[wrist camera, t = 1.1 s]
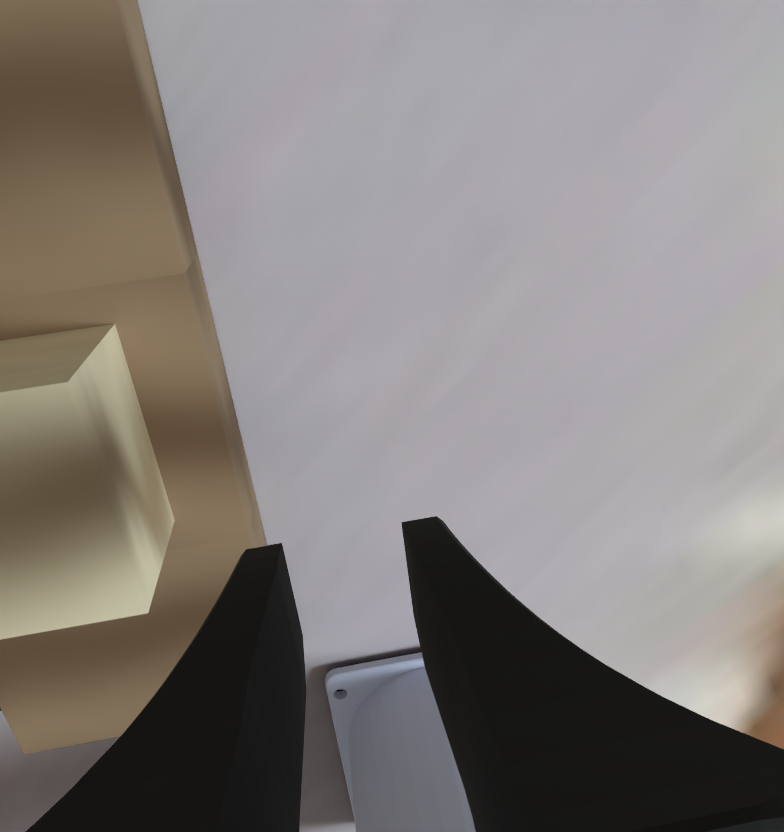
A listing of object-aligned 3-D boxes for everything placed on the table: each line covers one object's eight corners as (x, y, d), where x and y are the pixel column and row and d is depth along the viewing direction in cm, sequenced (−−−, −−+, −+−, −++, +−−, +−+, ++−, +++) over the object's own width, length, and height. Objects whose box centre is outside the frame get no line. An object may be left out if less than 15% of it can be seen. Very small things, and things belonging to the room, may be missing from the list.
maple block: (174, 520, 20) (148, 613, 16) (-38, 556, 19) (-113, 659, 16) (114, 324, 17) (67, 382, 14) (-131, 360, 17) (-247, 430, 13)
